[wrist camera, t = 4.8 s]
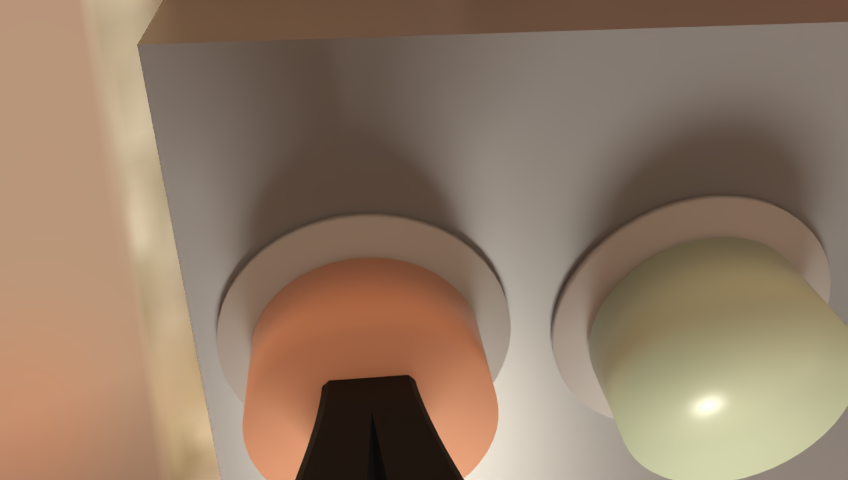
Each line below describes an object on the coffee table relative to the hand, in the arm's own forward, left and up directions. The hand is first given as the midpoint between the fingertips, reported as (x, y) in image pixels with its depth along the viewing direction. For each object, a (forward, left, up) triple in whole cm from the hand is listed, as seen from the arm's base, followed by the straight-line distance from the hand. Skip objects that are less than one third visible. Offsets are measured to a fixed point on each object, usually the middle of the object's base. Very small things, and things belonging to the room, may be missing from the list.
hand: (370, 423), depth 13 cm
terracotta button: (0, 0, -2) cm, 2 cm away
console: (-6, 0, -5) cm, 8 cm away
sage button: (-6, 0, -2) cm, 6 cm away
